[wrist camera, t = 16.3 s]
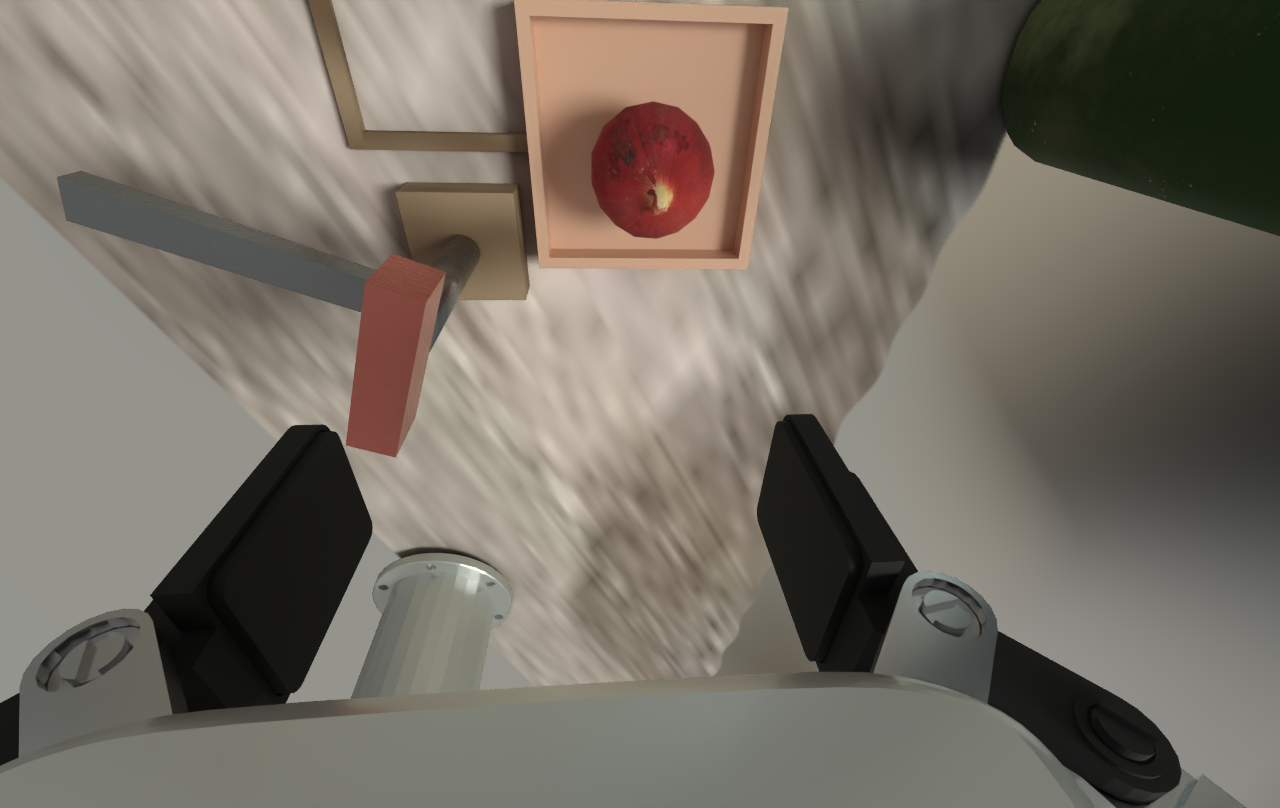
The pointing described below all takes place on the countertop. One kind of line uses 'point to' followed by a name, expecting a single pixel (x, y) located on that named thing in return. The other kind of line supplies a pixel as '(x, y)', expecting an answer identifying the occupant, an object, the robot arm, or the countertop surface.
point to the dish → (635, 74)
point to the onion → (652, 170)
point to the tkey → (307, 290)
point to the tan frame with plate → (441, 186)
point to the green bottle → (1155, 99)
